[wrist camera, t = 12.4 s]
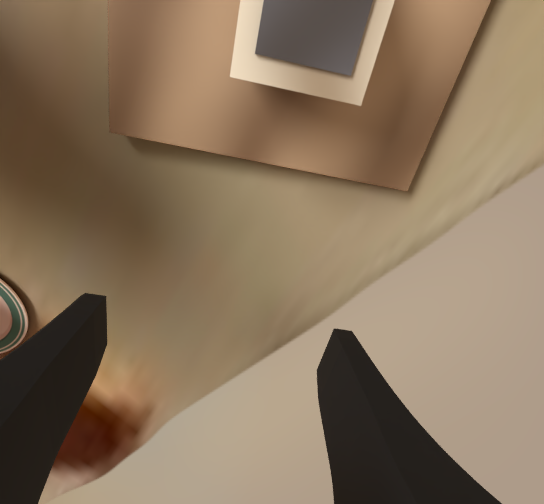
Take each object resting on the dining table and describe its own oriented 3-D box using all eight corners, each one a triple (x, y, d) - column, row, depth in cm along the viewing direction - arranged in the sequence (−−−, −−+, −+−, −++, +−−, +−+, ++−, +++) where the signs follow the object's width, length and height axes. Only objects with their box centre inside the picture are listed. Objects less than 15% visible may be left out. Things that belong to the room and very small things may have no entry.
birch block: (238, 56, 15) (229, 77, 11) (259, -90, 13) (259, -137, 9) (334, 78, 16) (362, 107, 11) (371, -58, 13) (424, -87, 9)
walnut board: (118, 124, 18) (109, 132, 17) (117, -277, 11) (103, -305, 10) (399, 181, 20) (407, 191, 19) (533, -136, 13) (555, -148, 12)
